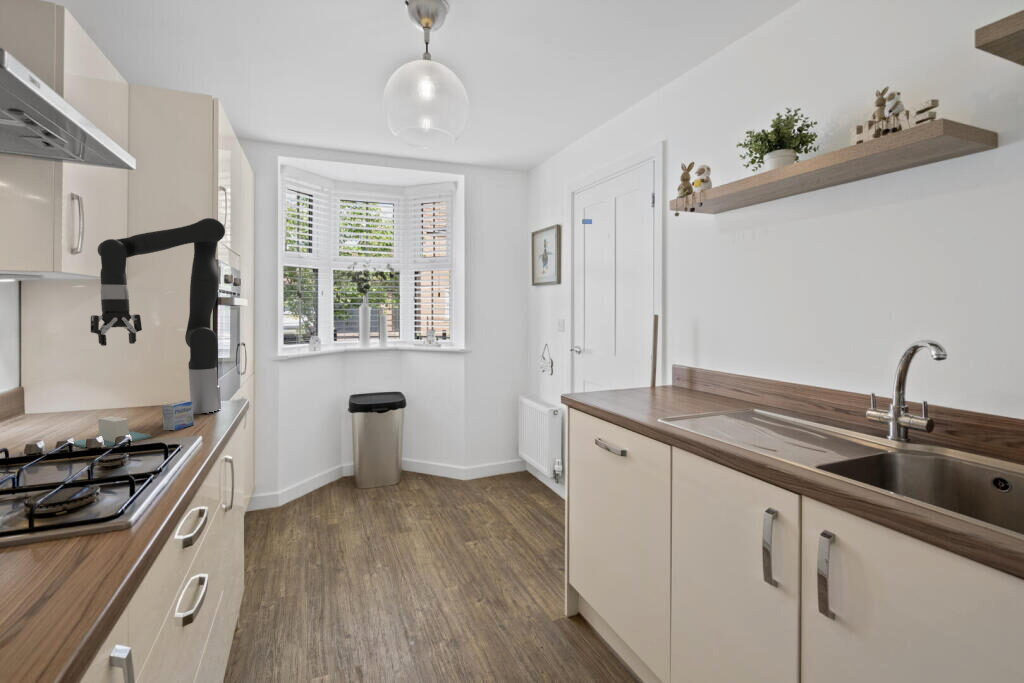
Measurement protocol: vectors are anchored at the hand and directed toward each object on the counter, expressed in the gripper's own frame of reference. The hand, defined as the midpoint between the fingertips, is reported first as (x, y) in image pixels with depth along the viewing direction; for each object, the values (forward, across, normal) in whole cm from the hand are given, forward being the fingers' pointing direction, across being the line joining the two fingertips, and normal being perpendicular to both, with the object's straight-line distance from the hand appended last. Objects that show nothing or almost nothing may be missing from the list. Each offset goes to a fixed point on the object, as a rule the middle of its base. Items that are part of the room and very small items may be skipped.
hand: (118, 344), depth 169 cm
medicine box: (+28, -5, +24) cm, 38 cm away
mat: (+28, +14, +21) cm, 38 cm away
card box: (+24, +14, +28) cm, 39 cm away
